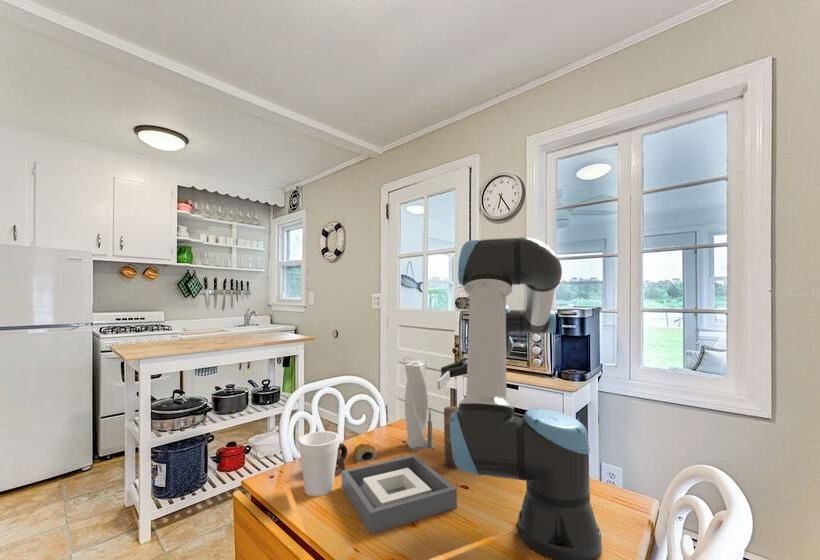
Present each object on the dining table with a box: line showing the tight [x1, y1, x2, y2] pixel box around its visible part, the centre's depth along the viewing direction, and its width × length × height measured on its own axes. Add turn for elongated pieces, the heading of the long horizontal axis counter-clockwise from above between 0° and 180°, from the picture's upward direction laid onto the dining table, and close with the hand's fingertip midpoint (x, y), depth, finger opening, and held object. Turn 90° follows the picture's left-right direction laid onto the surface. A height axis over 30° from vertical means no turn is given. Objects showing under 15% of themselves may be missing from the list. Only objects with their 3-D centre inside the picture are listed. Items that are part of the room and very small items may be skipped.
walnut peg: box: [443, 406, 459, 470], centre depth 103 cm, size 5×5×16 cm
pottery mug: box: [335, 443, 348, 477], centre depth 101 cm, size 12×10×8 cm
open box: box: [341, 454, 458, 535], centre depth 86 cm, size 20×20×5 cm
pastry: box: [353, 443, 379, 463], centre depth 111 cm, size 9×7×4 cm
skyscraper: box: [402, 356, 435, 452], centre depth 118 cm, size 8×8×28 cm
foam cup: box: [298, 430, 340, 497], centre depth 90 cm, size 10×9×13 cm
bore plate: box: [363, 468, 432, 508], centre depth 86 cm, size 12×12×3 cm
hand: (459, 390), depth 105 cm, fingers open, 13 cm apart
